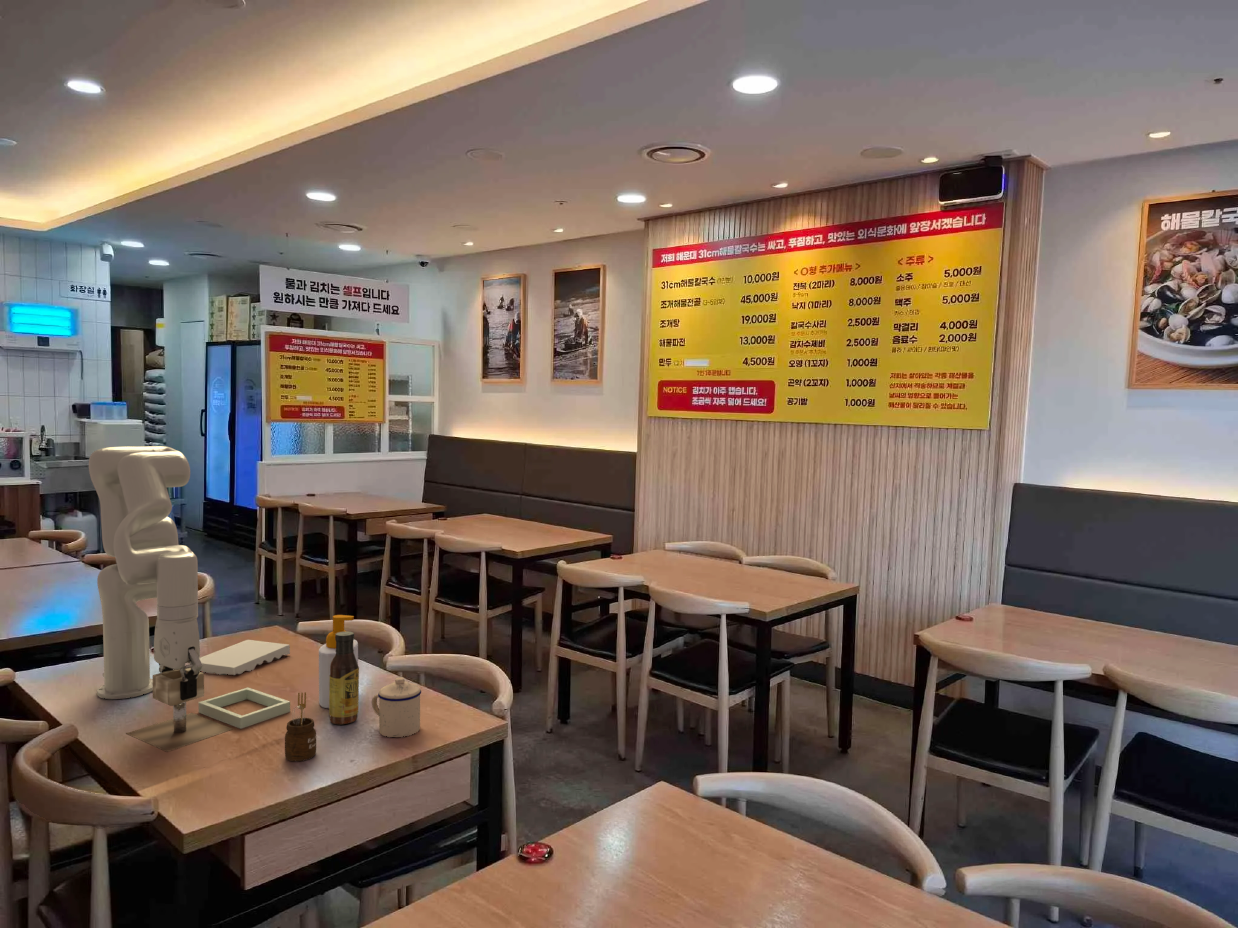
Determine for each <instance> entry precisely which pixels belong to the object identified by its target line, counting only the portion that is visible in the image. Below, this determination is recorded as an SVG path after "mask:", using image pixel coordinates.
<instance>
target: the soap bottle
mask: <svg viewBox="0 0 1238 928" xmlns="http://www.w3.org/2000/svg"><path fill="white" fill-rule="evenodd" d="M354 617H355V616H354V615H345V614H335V615H332V631H331V632H329V633H328V634H327V635H326V638H325V643H324V644H323V645H321V646H320V648H318V704H319V705H320V707H322V708H323V709H324V708H326V709H329V689H330V665H331V662H332V660H333V658H334V657H335V655H336V640H335V634H336V633H338V632H346V631H347V630H346V629H345V622H346V621H349V622H352V621H354V620H355V619H354ZM353 650H354V651H353V652H354V655H355V658H356V661H357V664H358V665H359V643H358V640H356V639H355V638H354V640H353Z"/></svg>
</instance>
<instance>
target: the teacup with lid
mask: <svg viewBox="0 0 1238 928" xmlns="http://www.w3.org/2000/svg"><path fill="white" fill-rule="evenodd" d="M421 694H422V690H421V687H420V686H419V685H417V684H415V683H411V682H409V681H406V680H405V678H404V677H396V678H395V679H394V681H393V682H391V683H390V684H386V685H385V686H383V687H381V688H380V689H379V690H378V693H377V694H375V695H374V696H372V698H371V706H372V709H373V711H374V713H375V715H377V716H378V717H379V720H378V723H379V725H378V728H379V731H378V732H379V733H380V735H382V736H383V737H386V736H387V737H386V738H390V737H401V738H406V737H405V736H407V737H410V736H413V735H415V734H417V733H418V732H419V731H420V728H421ZM378 700H379V701H378ZM416 732H417V733H416ZM414 733H415V734H414ZM412 734H413V735H412ZM409 735H410V736H409ZM403 736H404V737H403Z"/></svg>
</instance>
